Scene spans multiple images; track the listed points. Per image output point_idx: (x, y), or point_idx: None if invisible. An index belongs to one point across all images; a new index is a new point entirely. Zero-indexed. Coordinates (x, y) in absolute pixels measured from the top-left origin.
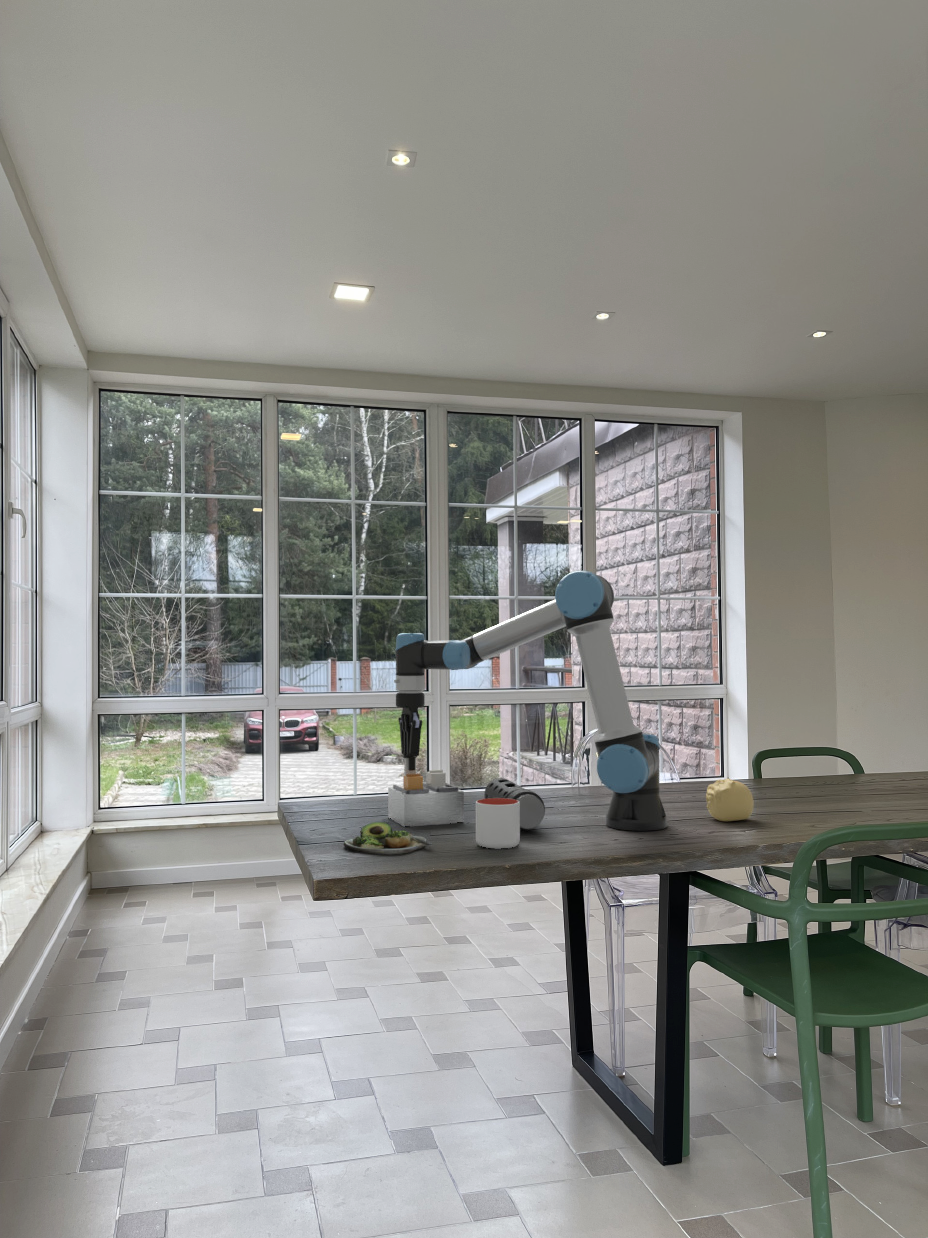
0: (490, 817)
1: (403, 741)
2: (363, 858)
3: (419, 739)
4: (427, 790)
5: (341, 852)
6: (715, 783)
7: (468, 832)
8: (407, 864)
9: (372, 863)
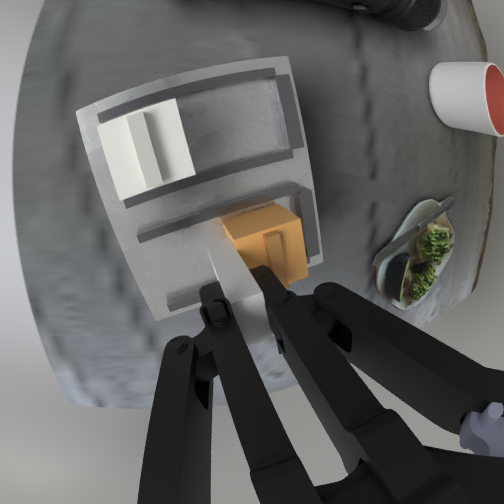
0: (495, 121)
1: (207, 429)
2: (444, 274)
3: (418, 333)
4: (309, 190)
5: None
6: None
7: (362, 97)
8: (472, 227)
9: (459, 262)
